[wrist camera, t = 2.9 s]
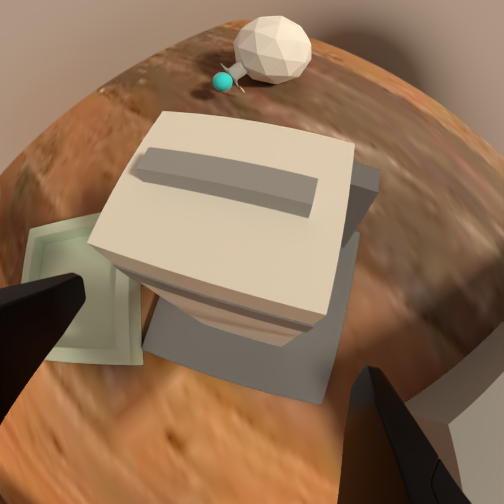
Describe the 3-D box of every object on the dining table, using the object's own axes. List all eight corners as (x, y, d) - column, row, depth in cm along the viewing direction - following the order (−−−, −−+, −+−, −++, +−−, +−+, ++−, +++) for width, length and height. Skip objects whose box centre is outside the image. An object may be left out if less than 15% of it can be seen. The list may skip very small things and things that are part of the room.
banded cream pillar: (281, 348, 17) (335, 313, 4) (202, 324, 17) (71, 234, 5) (298, 286, 18) (361, 128, 6) (222, 265, 19) (157, 96, 6)
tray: (143, 365, 17) (130, 364, 15) (33, 358, 17) (18, 356, 15) (143, 218, 21) (133, 205, 19) (42, 237, 21) (30, 228, 19)
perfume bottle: (339, 58, 23) (264, 115, 22) (290, 67, 30) (222, 120, 28) (302, -3, 18) (210, 42, 17) (257, 19, 25) (179, 66, 23)
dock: (320, 404, 16) (356, 430, 9) (144, 349, 17) (81, 338, 10) (358, 235, 20) (397, 175, 13) (202, 196, 21) (178, 127, 14)
